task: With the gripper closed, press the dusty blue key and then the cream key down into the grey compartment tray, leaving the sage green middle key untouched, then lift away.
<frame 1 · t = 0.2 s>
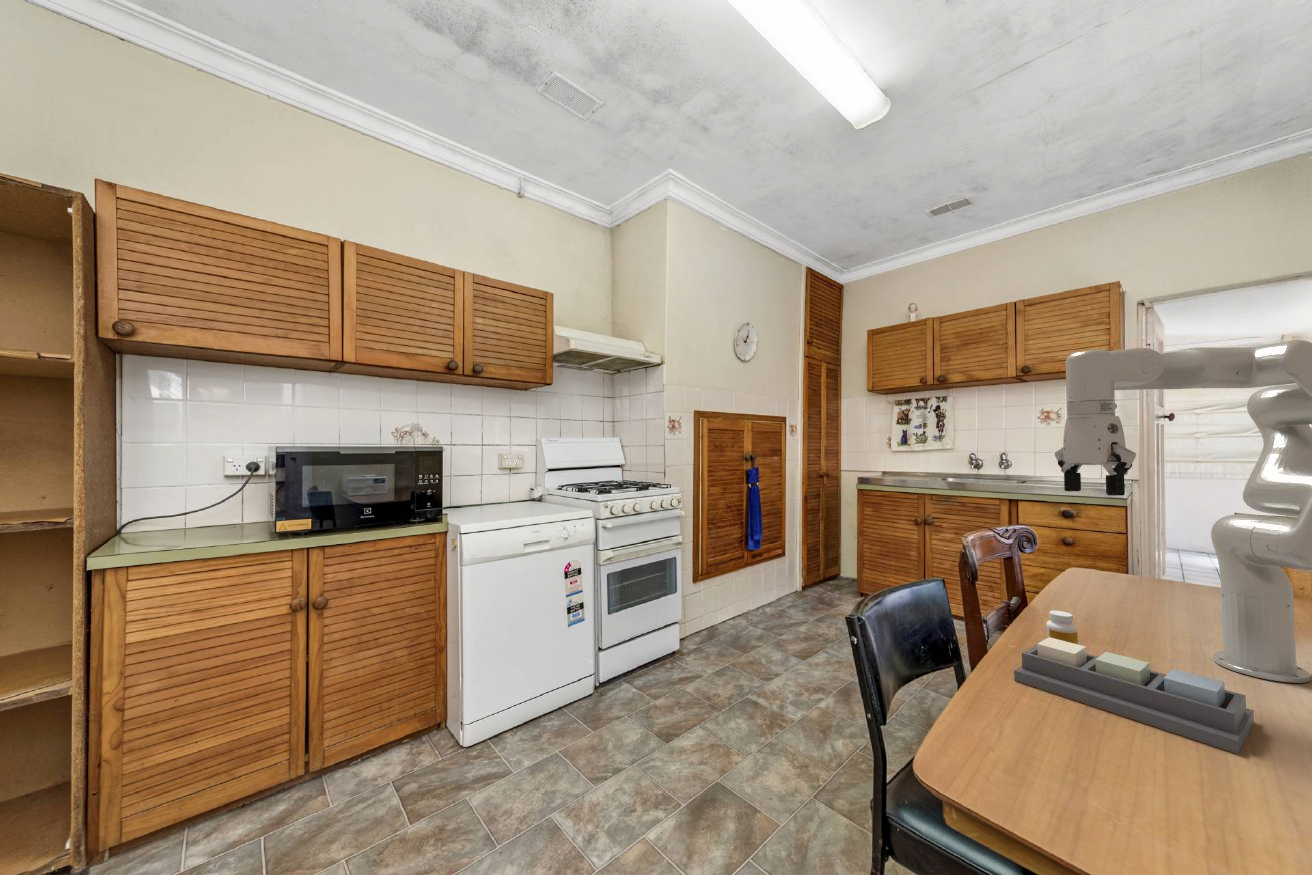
hand: (1093, 493, 102), 37 cm above the table, tool pointing down, fingers open, 9 cm apart
blue key: (1194, 688, 83), point 6 cm above the table, slide at 0.0 cm
grey compartment tray: (1123, 699, 90), on the table
cream key: (1061, 652, 98), point 6 cm above the table, slide at 0.0 cm
supplement bottle: (1062, 658, 108), on the table
sage key: (1122, 669, 90), point 5 cm above the table, slide at 0.0 cm
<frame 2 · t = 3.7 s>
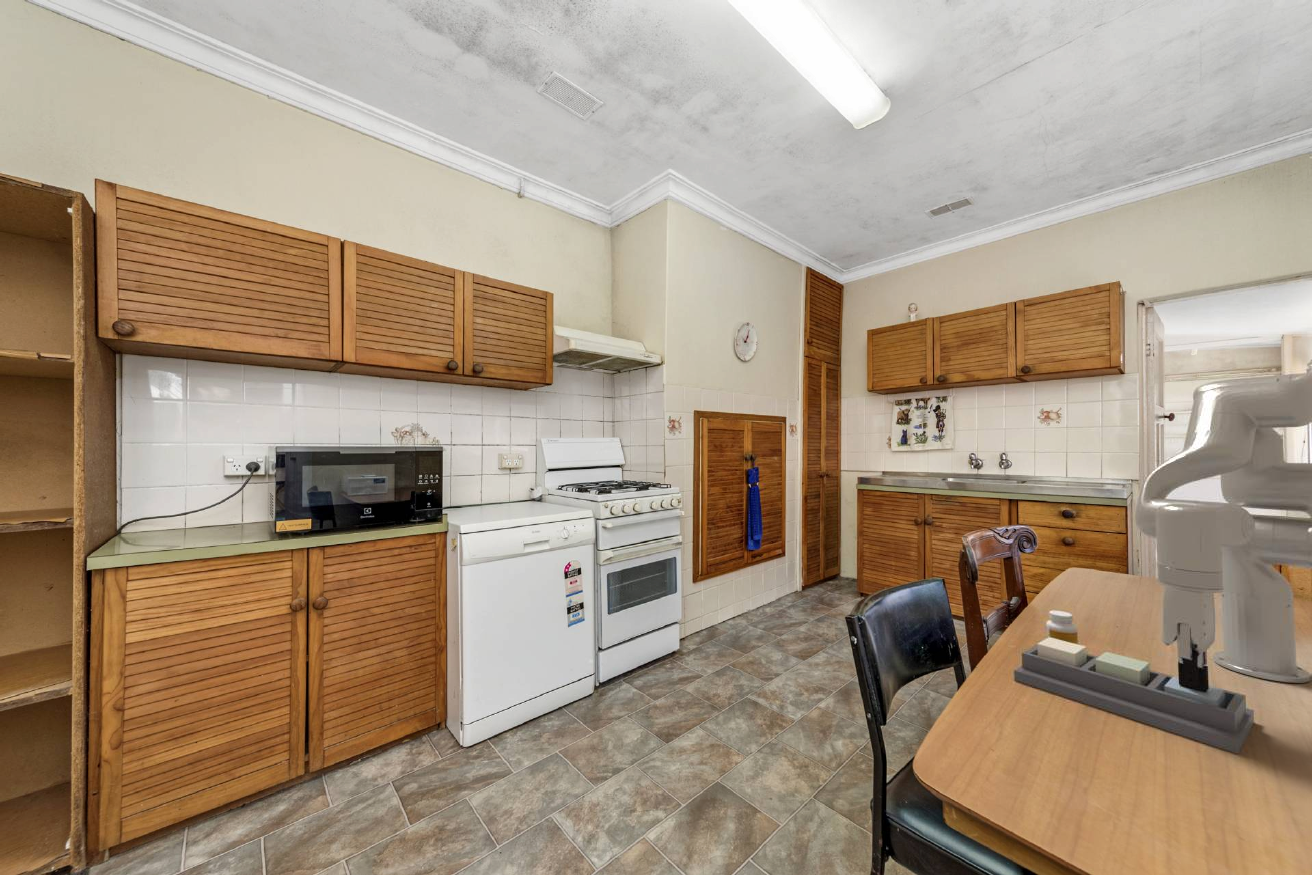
hand: (1193, 687, 83), 6 cm above the table, tool pointing down, fingers closed
blue key: (1194, 696, 83), point 4 cm above the table, slide at 1.4 cm
everything else where it was.
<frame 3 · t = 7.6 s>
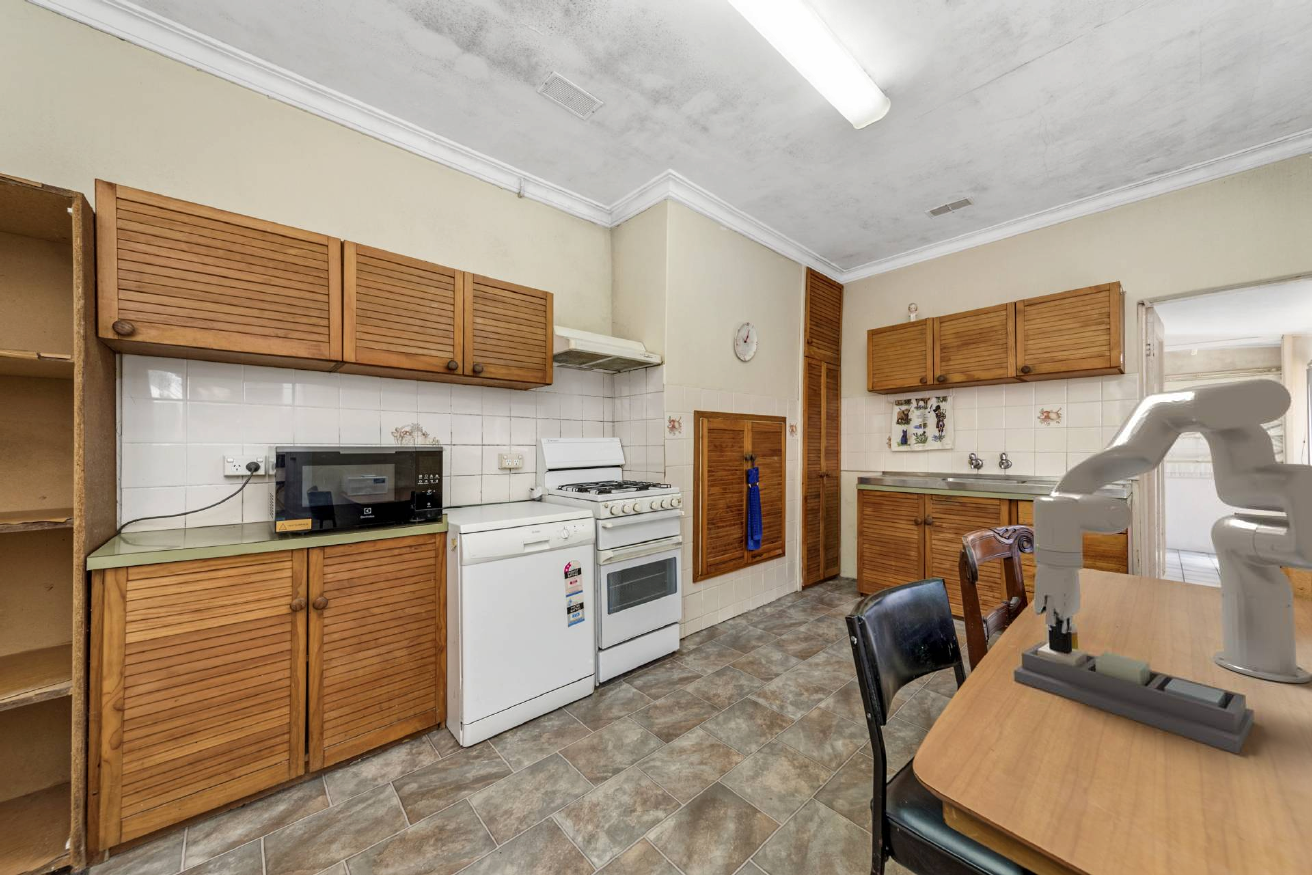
hand: (1060, 650, 98), 6 cm above the table, tool pointing down, fingers closed
blue key: (1194, 698, 83), point 4 cm above the table, slide at 1.7 cm
cream key: (1061, 658, 98), point 4 cm above the table, slide at 1.1 cm, touching gripper
everything else where it was.
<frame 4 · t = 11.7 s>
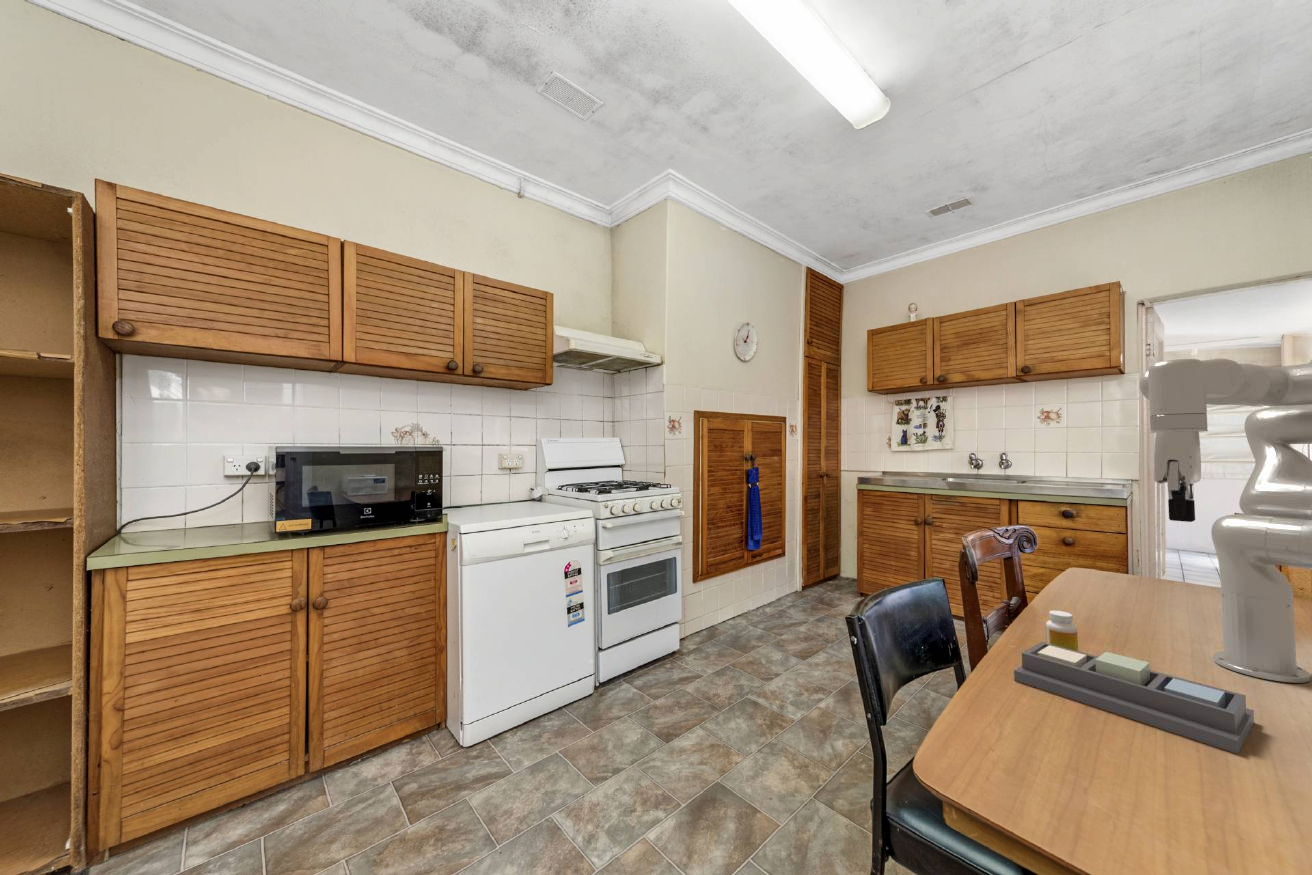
hand: (1182, 520, 94), 32 cm above the table, tool pointing down, fingers closed
cream key: (1062, 661, 98), point 4 cm above the table, slide at 1.7 cm
everything else where it was.
at the end: blue key slide at 1.7 cm; cream key slide at 1.7 cm; sage key slide at 0.0 cm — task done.
